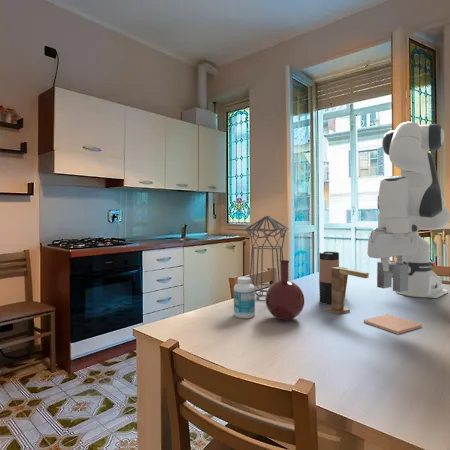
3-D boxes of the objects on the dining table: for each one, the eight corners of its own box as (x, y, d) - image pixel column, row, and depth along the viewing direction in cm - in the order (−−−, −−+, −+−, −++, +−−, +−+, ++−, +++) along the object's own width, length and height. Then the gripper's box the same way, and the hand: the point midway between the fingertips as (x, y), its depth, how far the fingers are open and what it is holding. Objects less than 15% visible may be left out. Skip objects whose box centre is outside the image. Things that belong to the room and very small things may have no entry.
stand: (337, 307, 127) (337, 265, 126) (372, 319, 113) (372, 272, 112) (325, 310, 124) (325, 267, 123) (360, 322, 110) (360, 274, 109)
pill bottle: (232, 312, 122) (232, 276, 121) (253, 312, 123) (252, 275, 122) (235, 319, 115) (234, 280, 114) (256, 318, 115) (256, 279, 115)
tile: (387, 316, 116) (387, 314, 116) (421, 326, 105) (421, 324, 105) (363, 322, 110) (363, 319, 110) (397, 334, 100) (397, 331, 100)
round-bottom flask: (303, 313, 120) (303, 258, 119) (305, 326, 107) (305, 264, 106) (266, 312, 122) (265, 258, 121) (264, 324, 109) (264, 263, 108)
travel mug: (340, 305, 130) (340, 254, 129) (319, 304, 131) (319, 253, 130) (337, 300, 137) (337, 251, 136) (318, 299, 139) (318, 251, 138)
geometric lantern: (244, 301, 137) (243, 216, 136) (255, 293, 151) (254, 216, 151) (282, 304, 131) (281, 215, 130) (290, 296, 145) (289, 215, 145)
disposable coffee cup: (348, 294, 146) (348, 267, 146) (349, 300, 137) (349, 270, 137) (326, 292, 149) (326, 266, 149) (325, 298, 140) (325, 269, 140)
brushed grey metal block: (407, 290, 105) (408, 264, 104) (399, 292, 103) (400, 265, 102) (385, 285, 112) (385, 260, 111) (377, 287, 110) (377, 261, 109)
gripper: (380, 228, 99) (379, 275, 99) (422, 226, 108) (421, 268, 109) (362, 227, 104) (362, 271, 105) (403, 225, 114) (402, 266, 114)
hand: (392, 270), depth 107 cm, fingers closed on brushed grey metal block, 4 cm apart
